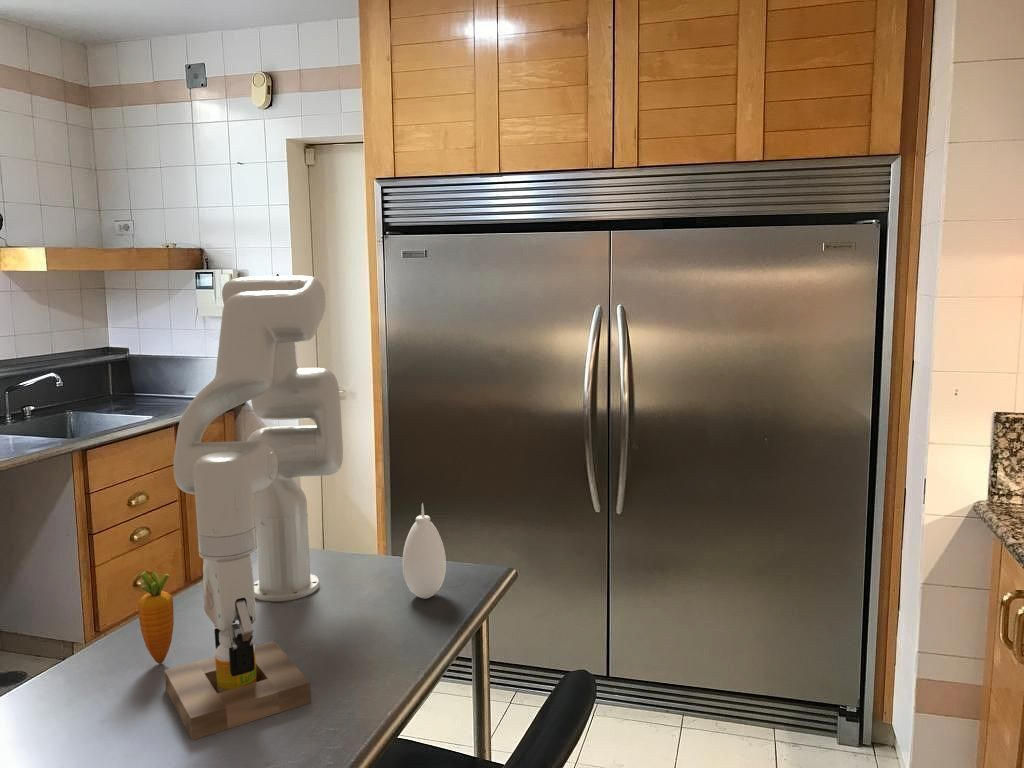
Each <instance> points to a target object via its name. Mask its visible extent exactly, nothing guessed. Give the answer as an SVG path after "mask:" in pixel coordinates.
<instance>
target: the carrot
mask: <svg viewBox="0 0 1024 768" xmlns="http://www.w3.org/2000/svg"><path fill="white" fill-rule="evenodd" d="M150 575H151V576H150ZM150 575H149V574H148V573H147V572H146V571H144V572H141V574H140V578H141V579H142V581H144V583H145V584H146V585H141V587H140V589H142V590H144V591H145V592H146V593H145V594H144V595H143V596H141V598H139V600H138V602H137V611H138V620H139V625H140V632H141V634H142V638H143V641H144V645H145V647H146V649H147V651H148V652H149V655H150V656H151V657H152V659H153V660H154V661H155V663H157V664H158V665H162V664H163V663H164V661H165V659H166V657H167V655H168V653H169V650H170V647H171V644H172V638H173V633H174V625H175V624H174V621H175V619H174V618H175V617H174V598H173V596H172V594H170V593H169V592H167V591H164V590H163V588H164V586H165V585H166V583H167V580H168V579H169V578H170V574H168V573H164V574H163V575H162V577H161V579H160V578H159V576H158V574H157V573H156V572H152V573H151V574H150Z"/></svg>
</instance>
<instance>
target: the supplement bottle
mask: <svg viewBox="0 0 1024 768" xmlns="http://www.w3.org/2000/svg"><path fill="white" fill-rule="evenodd" d="M234 631H235V637H237V635H238V634H240V629H237V630H234ZM219 642H220V645H219V646H218V647H217V649H216V648H215V652H214V657H215V662H216V676H217V690H216V692H217V694H218V693H221V692H224V691H228V690H231V689H235V688H238V687H242V686H245V685H248V684H252V683H255V682H257V676H256V660H255V646H256V645H255V644H254V643H253V647H254V663H255V669H254V670H253V671H251V672H248V673H244V674H241V675H237V676H232V675H231V673H230V659H229V648H231V642H230V637H229V631H228V629H226V630H225V631H220V632H219Z"/></svg>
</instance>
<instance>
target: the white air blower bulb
mask: <svg viewBox="0 0 1024 768" xmlns="http://www.w3.org/2000/svg"><path fill="white" fill-rule="evenodd" d="M420 509H421V510H420V511H421V514H419V515H418V516H416V518H415V522H414V523H413V524H412V526H411V528H410V530H409V531H408V534H407V537H406V539H405V542H404V547H403V553H402V574H403V579H404V581H405V583H406V585H407V588H408V589H409V590H410V592H411V593H412V594H415V596H416V597H417V598H420V599H430V598H431V597H433V596H434V595H435V594H436V593H437V592H438V591H440V589H441V587H442V585H443V583H444V581H445V578H446V577H445V576H446V571H447V558H446V550H445V546H444V543H443V541H442V537H441V536H440V533H439V531H438V529H437V527H436V526H435V525H434V523H433V522H432V521H431V517H430V516H429V515H425V508H424V503H423V502H422V503H421V508H420Z"/></svg>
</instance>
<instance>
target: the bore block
mask: <svg viewBox="0 0 1024 768" xmlns="http://www.w3.org/2000/svg"><path fill="white" fill-rule="evenodd" d="M254 646H255V660H256V676H257V682H255V683H252V684H248V685H245V686H242V687H238V688H235V689H231V690H228V691H224V692H221V693H218V692H217V676H216V662H215V656H213V657H207V658H205V659H201V660H197V661H194V662H190V663H185V664H181V665H178V666H175V667H171V668H166V669H164V683H165V690H166V692H167V695H168V696H169V698H170V700H171V702H172V703H173V707H174V708H175V710H176V712H177V714H178V716H179V717H180V720H181V722H182V723H183V725H184V726H185V729H186V731H187V733H188V735H189V736H190V739H191V740H192V741H194V740H198V739H201V738H203V737H206V736H210V735H213V734H215V733H219V732H222V731H225V730H228V729H232V728H235V727H238V726H241V725H245V724H247V723H250V722H253V721H256V720H260V719H263V718H267V717H270V716H272V715H276V714H278V713H282V712H284V711H285V712H286V711H288V710H292V709H294V708H298V707H301V706H304V705H307V704H310V703H312V692H311V682H310V680H309V679H308V678H307V677H306V676H305V674H304V673H303V672H302V671H300V669H299V668H298V667H297V666H296V665H295V664H294V662H293V661H292V660H291V659H290V658H289V657H288V656H287V654H286V653H285V652H284V651H283V650H282V649H281V648H280V647H279V646H278V644H277V643H276V642H275V641H274V640H272V641H268V642H264V643H261V644H257V645H254Z"/></svg>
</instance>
